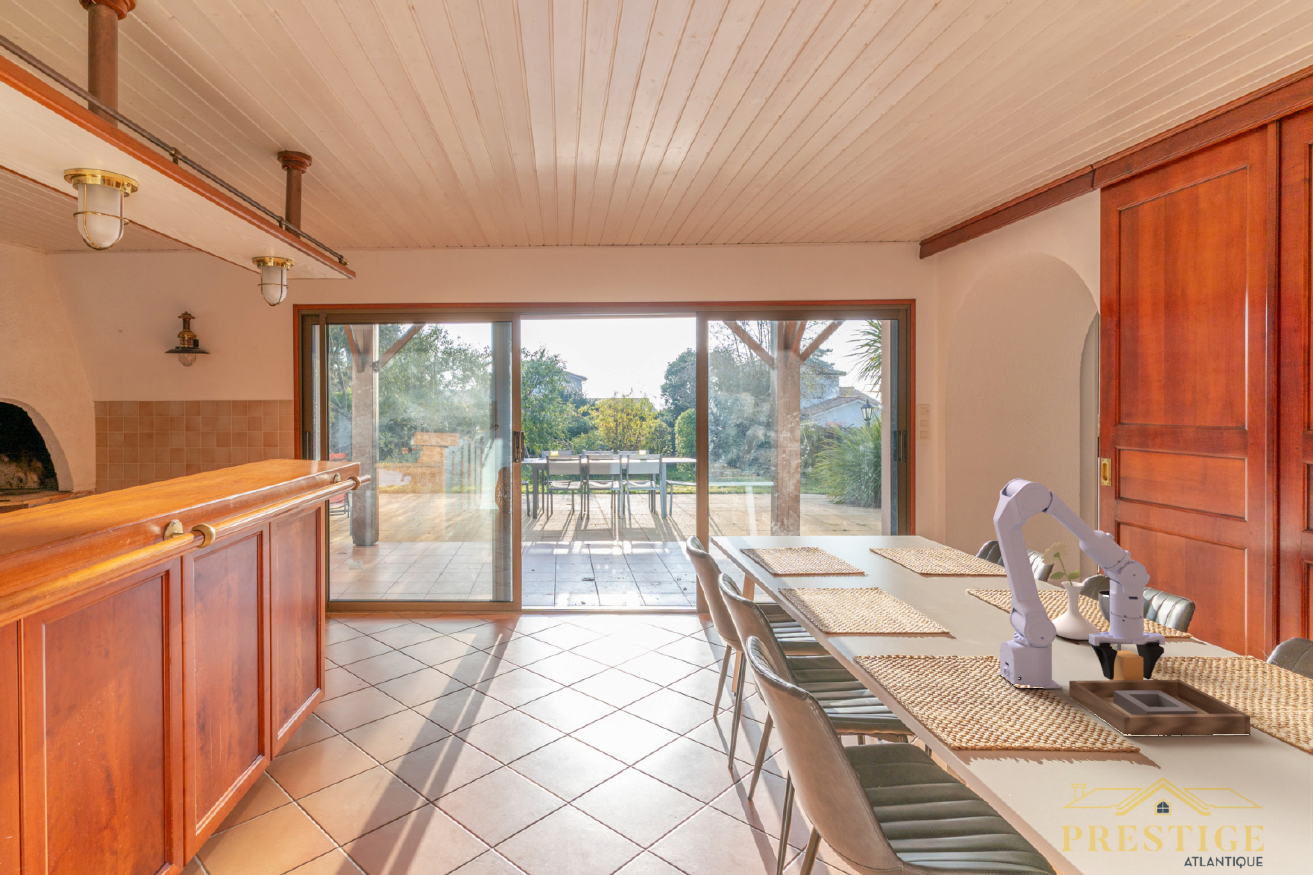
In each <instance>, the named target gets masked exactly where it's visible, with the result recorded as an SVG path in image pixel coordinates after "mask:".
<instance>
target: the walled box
mask: <svg viewBox="0 0 1313 875" xmlns="http://www.w3.org/2000/svg"><path fill="white" fill-rule="evenodd" d="M1068 682H1069V683H1068V685H1069V692H1068V693H1069V696H1070V697H1071V698H1072V699H1073V700H1075V701H1076V702H1077V703H1076V702H1075V701H1074V702H1075V703H1076V704H1078V703H1079V704H1080V705H1082V706H1083V707H1085V708H1086V709H1087V710H1086V709H1085V708H1084V709H1085V710H1086V711H1088V710H1089V711H1091V712H1092V713H1093V714H1096V715H1097V716H1098V717H1100V718H1101V719H1103V720H1105V721H1106V722H1107V723H1109V724H1110V725H1111V726H1112V727H1113V728H1116V729H1117V730H1119V731H1120V732H1122V733H1123V734H1127V735H1128V734H1131V735H1158V736H1157V737H1160V736H1159V735H1163V736H1162V737H1172V736H1171V735H1181V736H1180V737H1183V736H1182V735H1213V734H1249V735H1250V736H1251V716H1250V715H1249V714H1247V713H1245V712H1244V711H1241V710H1239V709H1237V708H1235V707H1233V706H1231V705H1229V704H1227V703H1225V702H1223V701H1222V700H1219V699H1218V698H1216V697H1214V696H1212V695H1210V694H1208V693H1206V692H1205V691H1202V690H1200V689H1198V688H1197V687H1194V686H1193V685H1191V684H1188V683H1187V682H1185V681H1183V680H1181V679H1143V680H1109V679H1108V680H1107V679H1105V680H1069V681H1068ZM1128 690H1160V691H1162V692H1164V693H1166V694H1168V695H1169V696H1171V697H1173V698H1175V699H1176V700H1178V701H1180V702H1182V703H1184V704H1185V705H1187V706H1189V707H1191V708H1192V709H1194V710H1196V711H1197V714H1164V715H1131V714H1130V713H1128V712H1127V711H1125V710H1124V709H1122V708H1120V707H1119V706H1117V705H1116V704H1114V696H1113V691H1128ZM1071 698H1070V699H1071ZM1072 699H1071V700H1072ZM1073 700H1072V701H1073ZM1079 704H1078V705H1079ZM1080 705H1079V706H1080ZM1082 706H1081V707H1082ZM1083 707H1082V708H1083ZM1089 711H1088V712H1089ZM1092 713H1091V714H1092ZM1093 714H1092V715H1093ZM1112 727H1111V728H1112ZM1113 728H1112V729H1113ZM1165 735H1167V736H1165Z"/></svg>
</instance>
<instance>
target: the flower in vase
mask: <svg viewBox="0 0 1313 875" xmlns="http://www.w3.org/2000/svg"><path fill="white" fill-rule="evenodd" d="M1044 550H1045V551H1044V553H1043V554H1042V555H1041V558H1040V559H1041V560H1042V561H1041V563H1042V564H1044V565H1046V566H1053V565H1054V564H1057V563H1058V562H1060V564H1061V567H1062V570H1063V571H1056V572H1054V573H1052V574H1051V575H1050V577H1049V579H1052V580H1060V579H1062V578H1063V577H1064V576H1066V578H1067V580H1068V581H1062V582H1061V585H1062V586H1063V587H1064V589H1065V591H1066V595H1067V610H1066V611H1065V612H1064V613H1062V614H1061V615H1059V616H1057V617H1055V618H1054V619H1052V620H1051V621H1052V623H1053V624H1054V625H1055V627H1056V636H1060V637H1062V638H1066V639H1071V640H1081V641H1082V640H1083V641H1087V640H1088V641H1089V634H1095V633H1101V632H1100V630H1099V628H1097V626H1095V624H1093V623H1092V622H1091V621H1090V620H1089V619H1087V618H1086V617H1085V616H1083V615H1082V614H1081V612H1080V610H1079V598H1080V597H1079V596H1080V593H1081V591H1082V589H1083V588H1084V587H1085V584H1084V583H1081V582H1077V581H1071V580H1076V579H1080V577H1081V573H1082V572H1081V568H1079V569H1076V570H1073V571H1071V572H1069V573H1068V574H1067V572H1066V569H1065V567H1064V563H1063V561H1062V560H1063V559H1064V558H1065V557H1066V556H1067V555H1068V551H1069V544H1068V543H1065V542H1064V541H1059V542H1058V541H1055V542H1054V543H1053V544H1051V545H1050V547H1049V548H1046V549H1044Z"/></svg>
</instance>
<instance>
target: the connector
mask: <svg viewBox="0 0 1313 875" xmlns="http://www.w3.org/2000/svg"><path fill="white" fill-rule="evenodd" d="M1113 680H1144V677H1143V657H1141V656H1139V655H1138V653H1136V652H1134V651H1131V650H1122V651H1118V653H1117V655H1116V658H1115V663H1114V679H1113Z"/></svg>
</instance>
